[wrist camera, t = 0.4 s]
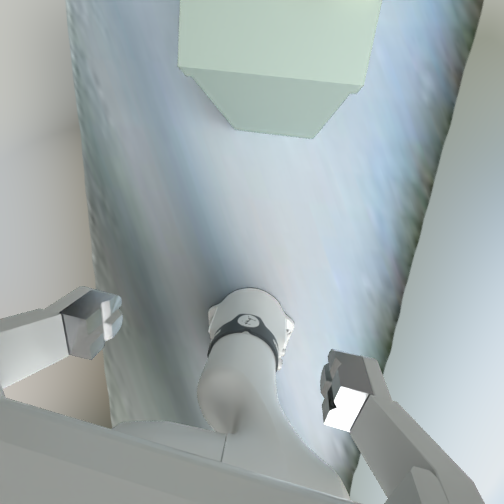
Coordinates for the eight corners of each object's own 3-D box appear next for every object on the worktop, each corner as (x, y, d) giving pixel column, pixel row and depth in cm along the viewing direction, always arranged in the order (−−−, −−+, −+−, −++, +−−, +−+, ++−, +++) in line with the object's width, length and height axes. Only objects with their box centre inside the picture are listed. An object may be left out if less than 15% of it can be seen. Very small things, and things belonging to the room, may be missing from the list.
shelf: (315, 139, 45) (363, 85, 20) (232, 129, 46) (177, 66, 21) (338, 16, 40) (439, -264, 15) (243, 7, 41) (190, -269, 16)
